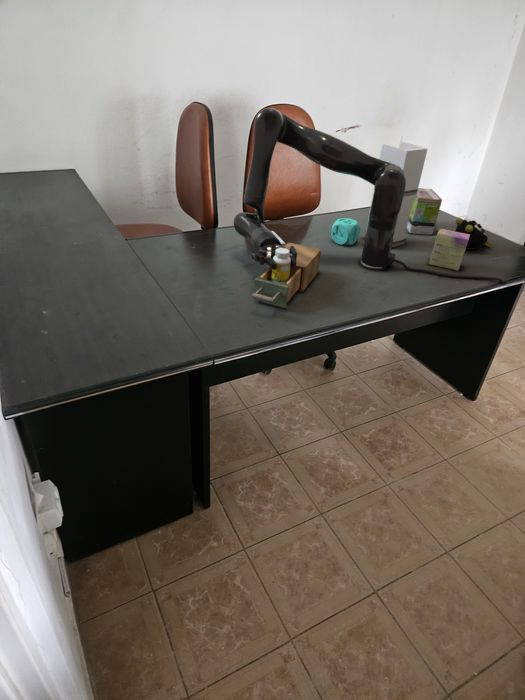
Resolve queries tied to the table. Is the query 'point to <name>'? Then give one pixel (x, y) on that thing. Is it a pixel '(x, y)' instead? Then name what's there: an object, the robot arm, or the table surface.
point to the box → (449, 249)
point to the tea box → (424, 212)
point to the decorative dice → (345, 231)
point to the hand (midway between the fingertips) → (284, 265)
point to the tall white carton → (412, 166)
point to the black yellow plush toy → (472, 233)
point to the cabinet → (306, 263)
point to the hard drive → (279, 239)
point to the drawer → (277, 288)
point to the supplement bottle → (281, 266)
